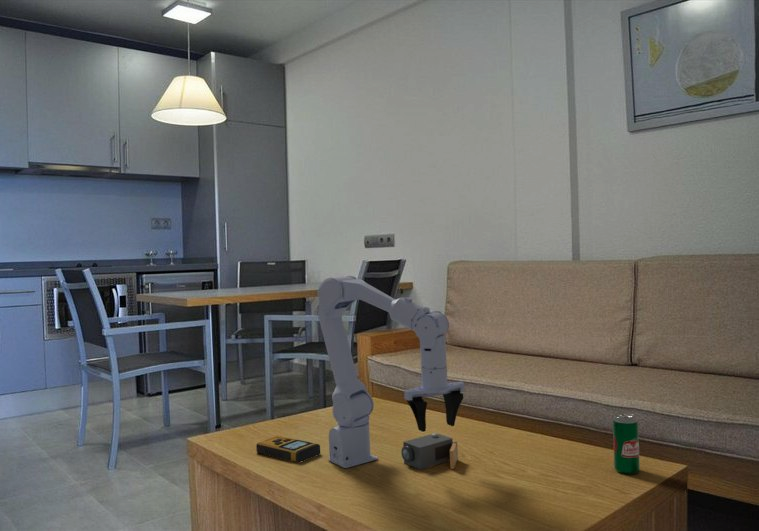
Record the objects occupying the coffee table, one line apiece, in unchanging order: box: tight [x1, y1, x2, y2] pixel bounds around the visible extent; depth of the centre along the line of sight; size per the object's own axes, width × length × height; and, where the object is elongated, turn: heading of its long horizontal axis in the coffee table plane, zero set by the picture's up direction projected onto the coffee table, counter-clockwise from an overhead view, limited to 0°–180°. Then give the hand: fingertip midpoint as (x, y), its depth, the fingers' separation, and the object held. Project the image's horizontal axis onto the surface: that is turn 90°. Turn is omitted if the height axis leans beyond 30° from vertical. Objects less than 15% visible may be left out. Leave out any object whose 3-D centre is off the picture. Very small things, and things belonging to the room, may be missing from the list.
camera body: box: [400, 432, 454, 471], centre depth 144 cm, size 11×6×6 cm, turn 126°
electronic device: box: [255, 435, 321, 463], centre depth 155 cm, size 8×16×3 cm, turn 52°
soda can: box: [612, 412, 641, 475], centre depth 133 cm, size 5×5×12 cm
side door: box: [449, 440, 459, 470], centre depth 142 cm, size 7×1×4 cm, turn 166°
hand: (436, 427), depth 137 cm, fingers open, 7 cm apart
